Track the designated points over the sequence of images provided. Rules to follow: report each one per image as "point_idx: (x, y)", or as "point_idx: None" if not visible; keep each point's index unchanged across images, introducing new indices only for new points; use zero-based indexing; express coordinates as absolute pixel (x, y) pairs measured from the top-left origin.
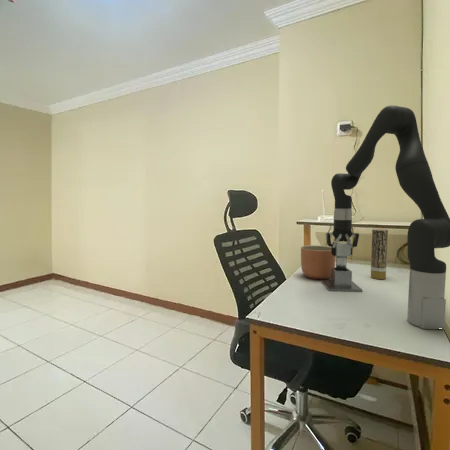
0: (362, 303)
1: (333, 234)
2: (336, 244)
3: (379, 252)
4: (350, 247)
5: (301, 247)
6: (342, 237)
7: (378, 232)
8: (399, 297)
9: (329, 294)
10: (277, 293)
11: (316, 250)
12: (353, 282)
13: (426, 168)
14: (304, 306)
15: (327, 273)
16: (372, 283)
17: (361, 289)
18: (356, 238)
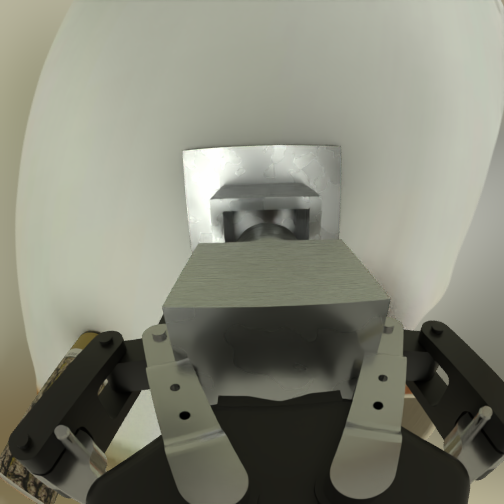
0: (233, 11)
1: (461, 460)
2: (379, 329)
3: None
4: (178, 287)
5: (429, 436)
6: (292, 452)
7: (19, 476)
8: (75, 116)
9: (343, 98)
10: (494, 126)
11: (408, 395)
12: None
13: None
14: (429, 5)
15: None
16: (120, 285)
17: (185, 153)
18: (58, 405)
